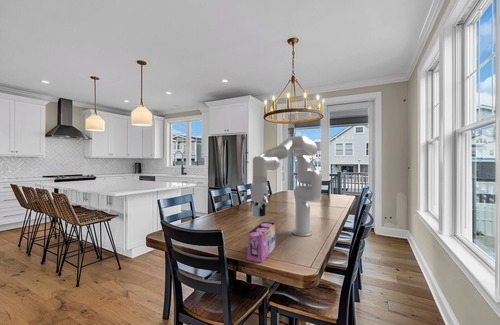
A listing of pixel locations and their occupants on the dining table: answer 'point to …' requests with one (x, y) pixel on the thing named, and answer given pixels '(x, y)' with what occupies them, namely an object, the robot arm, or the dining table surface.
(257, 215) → the slate cube
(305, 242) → the dining table surface
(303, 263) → the dining table surface
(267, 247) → the gum box
